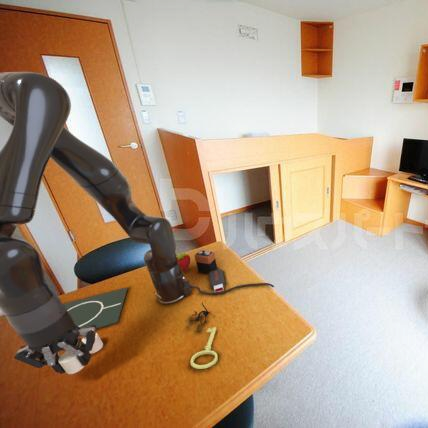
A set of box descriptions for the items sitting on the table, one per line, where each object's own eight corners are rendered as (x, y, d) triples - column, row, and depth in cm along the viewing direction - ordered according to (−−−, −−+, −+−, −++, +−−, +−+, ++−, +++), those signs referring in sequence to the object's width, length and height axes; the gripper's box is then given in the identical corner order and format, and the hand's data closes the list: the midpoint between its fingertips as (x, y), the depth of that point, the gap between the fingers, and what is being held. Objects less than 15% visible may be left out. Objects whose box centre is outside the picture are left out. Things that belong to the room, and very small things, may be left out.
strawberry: (173, 276, 100) (167, 257, 96) (183, 265, 107) (177, 246, 103) (186, 277, 100) (181, 257, 96) (196, 265, 107) (191, 247, 103)
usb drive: (222, 272, 103) (221, 267, 102) (226, 289, 94) (225, 284, 93) (209, 275, 101) (208, 270, 100) (212, 294, 92) (211, 288, 91)
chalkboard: (128, 288, 94) (127, 287, 93) (117, 322, 79) (117, 321, 79) (59, 306, 85) (58, 304, 85) (34, 348, 71) (33, 346, 71)
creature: (194, 338, 76) (216, 320, 80) (186, 329, 73) (210, 310, 77) (184, 324, 81) (206, 307, 85) (177, 315, 78) (200, 298, 82)
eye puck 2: (104, 340, 73) (99, 330, 72) (101, 350, 71) (95, 340, 69) (89, 345, 72) (83, 335, 70) (85, 355, 69) (79, 345, 67)
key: (217, 329, 78) (216, 325, 77) (218, 364, 67) (217, 360, 66) (192, 337, 75) (191, 332, 74) (190, 374, 65) (188, 370, 64)
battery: (211, 274, 102) (207, 255, 98) (198, 272, 103) (193, 253, 99) (217, 268, 106) (214, 249, 101) (204, 266, 107) (199, 247, 103)
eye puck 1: (88, 357, 61) (80, 346, 59) (83, 370, 59) (75, 358, 57) (69, 363, 60) (61, 352, 58) (64, 377, 57) (55, 365, 55)
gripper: (-19, 346, 46) (28, 395, 53) (77, 318, 52) (108, 366, 59) (4, 317, 52) (44, 365, 59) (88, 295, 57) (114, 341, 65)
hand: (76, 365), depth 59 cm, fingers closed on eye puck 1, 3 cm apart
